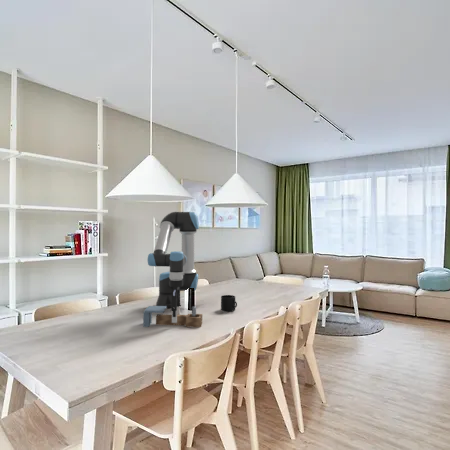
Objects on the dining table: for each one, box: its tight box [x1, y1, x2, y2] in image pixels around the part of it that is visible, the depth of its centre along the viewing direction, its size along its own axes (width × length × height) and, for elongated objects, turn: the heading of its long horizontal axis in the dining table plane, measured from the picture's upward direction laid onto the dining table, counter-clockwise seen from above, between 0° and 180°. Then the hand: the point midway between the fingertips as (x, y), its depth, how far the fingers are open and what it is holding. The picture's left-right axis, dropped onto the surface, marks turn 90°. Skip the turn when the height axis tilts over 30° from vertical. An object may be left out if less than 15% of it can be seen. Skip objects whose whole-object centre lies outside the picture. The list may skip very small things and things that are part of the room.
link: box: [155, 313, 203, 328], centre depth 184 cm, size 25×8×5 cm, turn 89°
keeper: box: [142, 305, 168, 328], centre depth 184 cm, size 11×11×9 cm
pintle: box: [191, 305, 197, 317], centre depth 184 cm, size 2×2×10 cm
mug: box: [220, 294, 238, 313], centre depth 217 cm, size 9×12×9 cm
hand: (175, 320), depth 184 cm, fingers open, 8 cm apart
